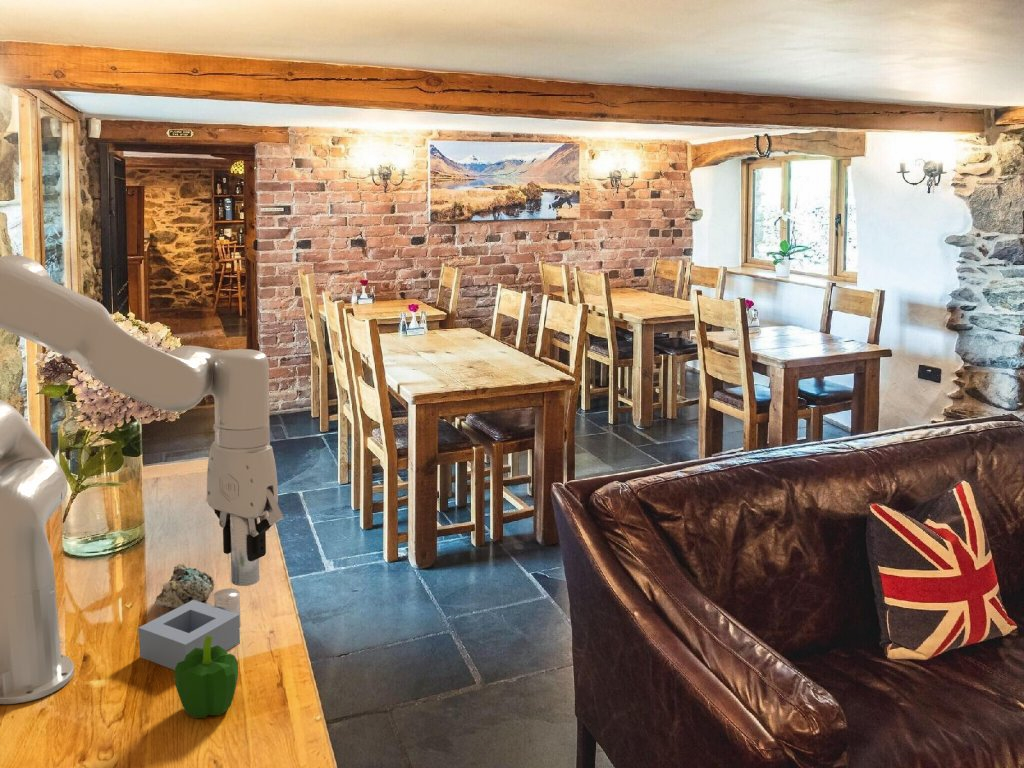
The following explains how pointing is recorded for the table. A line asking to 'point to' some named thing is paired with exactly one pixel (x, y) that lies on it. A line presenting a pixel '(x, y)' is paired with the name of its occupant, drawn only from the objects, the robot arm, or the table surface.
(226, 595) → the short pin
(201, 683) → the bell pepper
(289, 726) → the table surface
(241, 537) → the long pin
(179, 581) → the mineral specimen
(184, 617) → the hole block
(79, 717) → the table surface
